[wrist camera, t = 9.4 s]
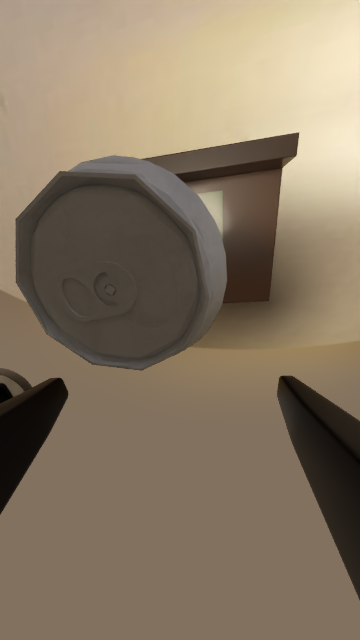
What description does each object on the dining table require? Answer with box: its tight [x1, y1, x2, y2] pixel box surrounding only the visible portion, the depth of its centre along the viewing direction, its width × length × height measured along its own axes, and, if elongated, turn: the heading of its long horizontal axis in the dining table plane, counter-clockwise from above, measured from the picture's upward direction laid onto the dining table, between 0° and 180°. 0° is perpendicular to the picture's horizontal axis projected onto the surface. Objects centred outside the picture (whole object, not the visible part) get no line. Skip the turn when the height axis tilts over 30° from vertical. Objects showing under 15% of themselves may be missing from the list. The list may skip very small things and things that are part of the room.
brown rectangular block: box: [142, 133, 299, 303], centre depth 15 cm, size 10×14×5 cm
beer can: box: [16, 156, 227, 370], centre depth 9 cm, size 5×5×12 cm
